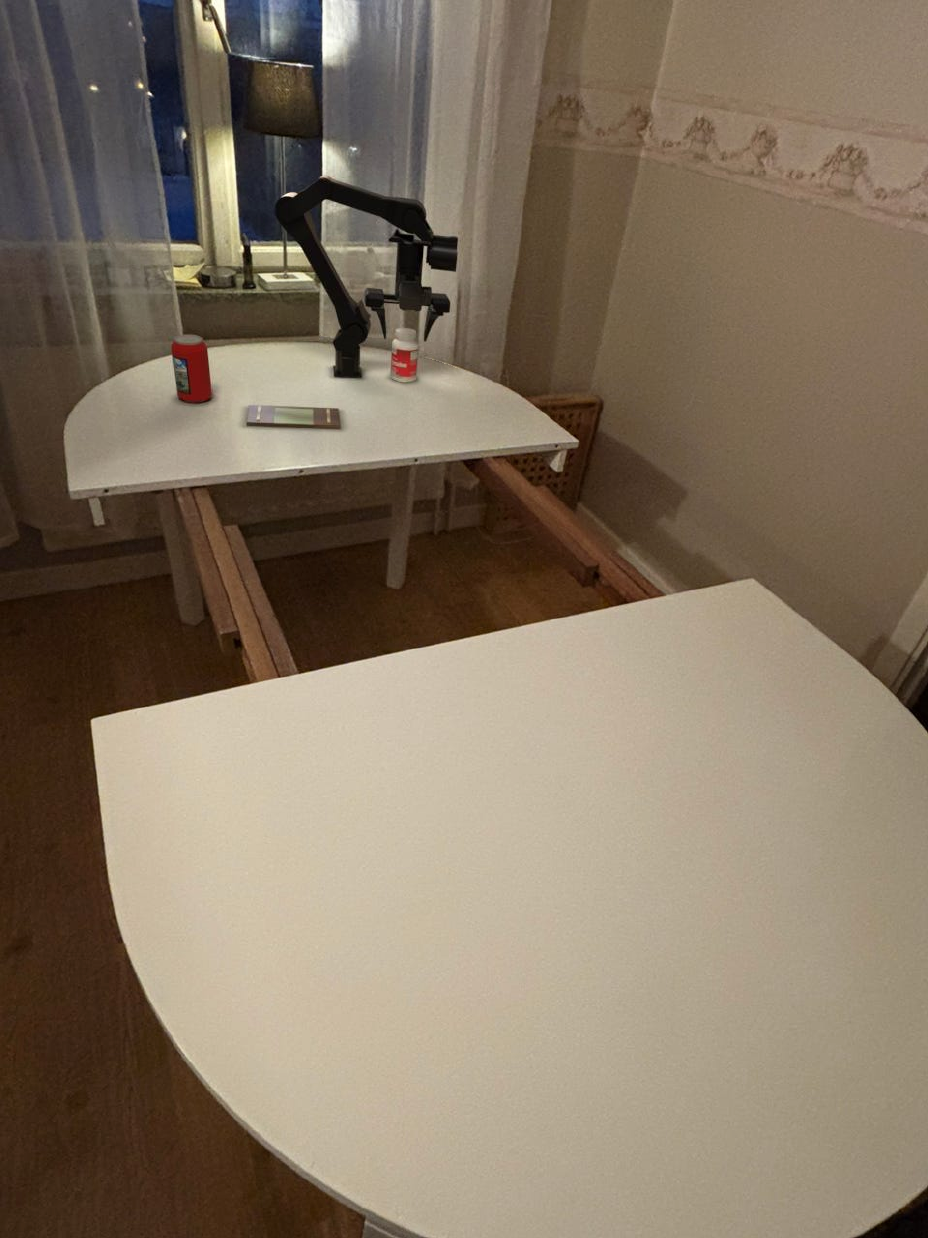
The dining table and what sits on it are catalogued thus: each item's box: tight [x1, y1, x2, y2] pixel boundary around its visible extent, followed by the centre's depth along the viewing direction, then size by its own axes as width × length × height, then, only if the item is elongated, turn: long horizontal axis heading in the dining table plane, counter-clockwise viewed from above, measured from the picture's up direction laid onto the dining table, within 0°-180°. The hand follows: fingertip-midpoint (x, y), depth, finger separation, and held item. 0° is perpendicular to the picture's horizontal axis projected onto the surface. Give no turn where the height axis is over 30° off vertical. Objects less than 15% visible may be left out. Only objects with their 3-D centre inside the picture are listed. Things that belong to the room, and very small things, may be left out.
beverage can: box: [170, 334, 213, 404], centre depth 148 cm, size 7×7×12 cm
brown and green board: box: [245, 404, 341, 430], centre depth 148 cm, size 9×18×1 cm, turn 100°
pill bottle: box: [389, 327, 420, 383], centre depth 172 cm, size 6×6×11 cm
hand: (404, 339), depth 169 cm, fingers open, 9 cm apart
